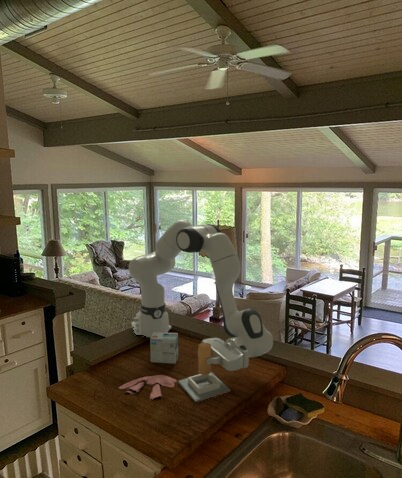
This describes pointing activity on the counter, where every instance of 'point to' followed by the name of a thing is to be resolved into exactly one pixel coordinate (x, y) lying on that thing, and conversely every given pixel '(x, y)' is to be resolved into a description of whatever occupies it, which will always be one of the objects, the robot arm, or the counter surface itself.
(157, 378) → the cloth
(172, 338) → the light bulb box
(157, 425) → the counter surface
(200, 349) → the tapered orange cylinder
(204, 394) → the cylinder holder
